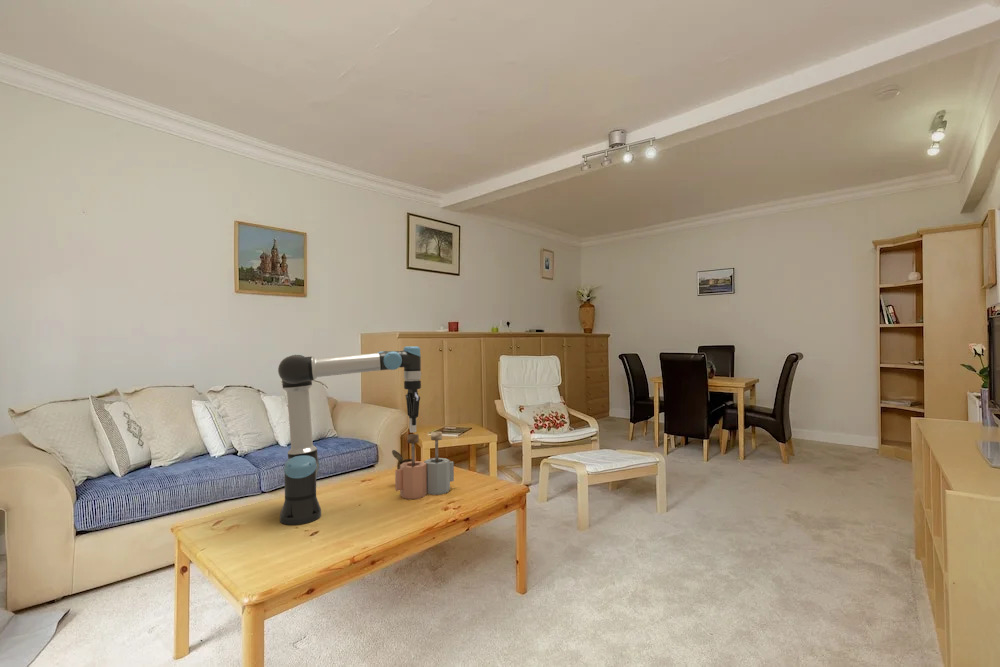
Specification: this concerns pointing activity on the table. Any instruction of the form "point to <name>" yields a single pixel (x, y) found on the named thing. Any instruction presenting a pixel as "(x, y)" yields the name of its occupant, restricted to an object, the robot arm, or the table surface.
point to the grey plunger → (436, 442)
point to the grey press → (439, 475)
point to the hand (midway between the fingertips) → (413, 432)
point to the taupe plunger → (413, 444)
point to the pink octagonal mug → (411, 480)
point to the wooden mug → (399, 458)
